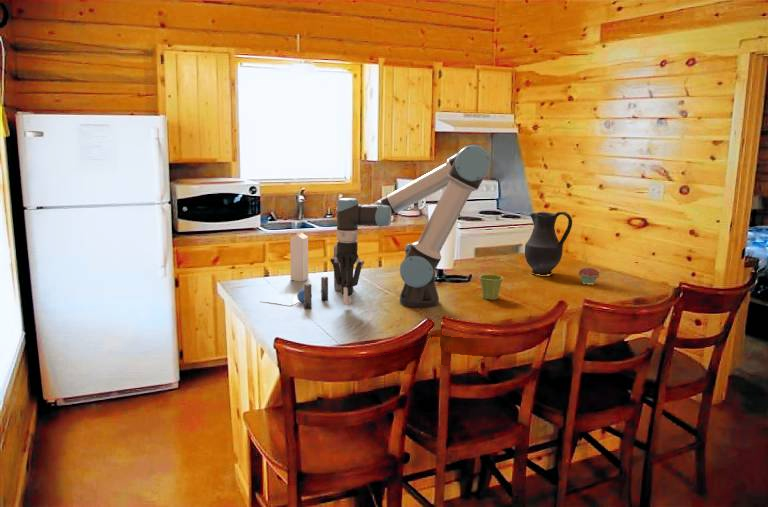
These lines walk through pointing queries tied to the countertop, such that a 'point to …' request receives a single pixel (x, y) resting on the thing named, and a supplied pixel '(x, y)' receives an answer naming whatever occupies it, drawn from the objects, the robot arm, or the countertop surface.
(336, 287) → the spray can
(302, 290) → the ball
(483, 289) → the plant pot
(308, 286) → the left post
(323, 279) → the right post
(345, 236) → the robot arm
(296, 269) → the milk
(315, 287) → the countertop surface
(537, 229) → the pitcher
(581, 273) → the cupcake
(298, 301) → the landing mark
